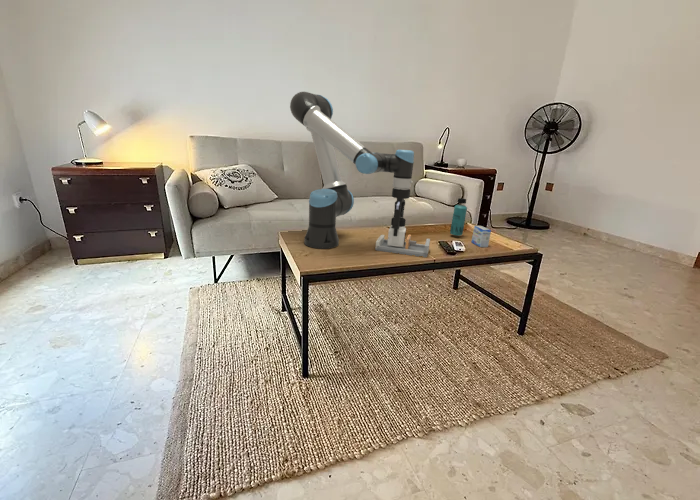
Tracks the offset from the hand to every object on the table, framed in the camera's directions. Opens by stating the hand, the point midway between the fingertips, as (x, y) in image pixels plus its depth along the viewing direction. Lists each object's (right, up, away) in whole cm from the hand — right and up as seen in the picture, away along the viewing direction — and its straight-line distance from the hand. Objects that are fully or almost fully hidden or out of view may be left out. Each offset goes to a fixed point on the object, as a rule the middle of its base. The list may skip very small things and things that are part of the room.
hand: (396, 240), depth 151 cm
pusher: (+6, -4, -1) cm, 7 cm away
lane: (+3, -4, +1) cm, 5 cm away
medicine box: (+43, -2, +16) cm, 46 cm away
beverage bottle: (+35, +3, +28) cm, 45 cm away
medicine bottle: (0, -2, +1) cm, 2 cm away
